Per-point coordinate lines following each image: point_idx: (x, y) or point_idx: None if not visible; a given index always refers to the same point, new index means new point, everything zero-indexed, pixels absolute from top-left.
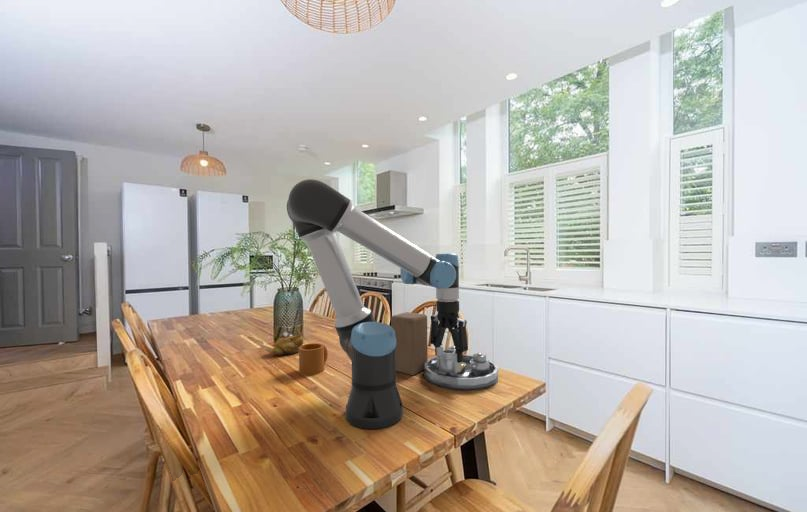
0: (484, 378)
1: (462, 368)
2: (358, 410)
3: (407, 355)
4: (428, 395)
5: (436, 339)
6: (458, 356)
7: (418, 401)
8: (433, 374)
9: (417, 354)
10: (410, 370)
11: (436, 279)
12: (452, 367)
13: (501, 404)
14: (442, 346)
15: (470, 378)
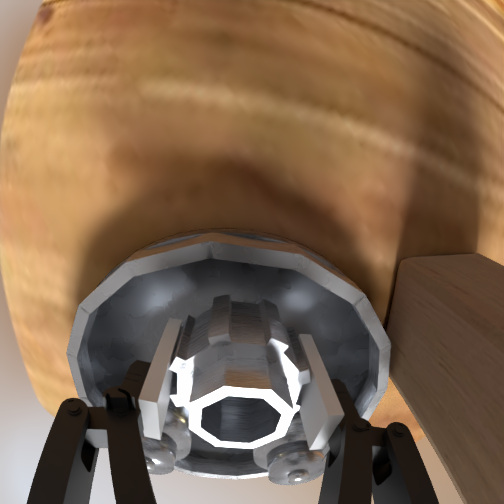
0: (70, 342)
1: None
2: None
3: (476, 286)
4: (219, 112)
5: (363, 466)
6: (134, 388)
7: (221, 43)
8: (279, 249)
9: (440, 334)
10: (419, 260)
11: None
12: (186, 333)
13: (2, 238)
14: (314, 447)
15: (90, 304)
